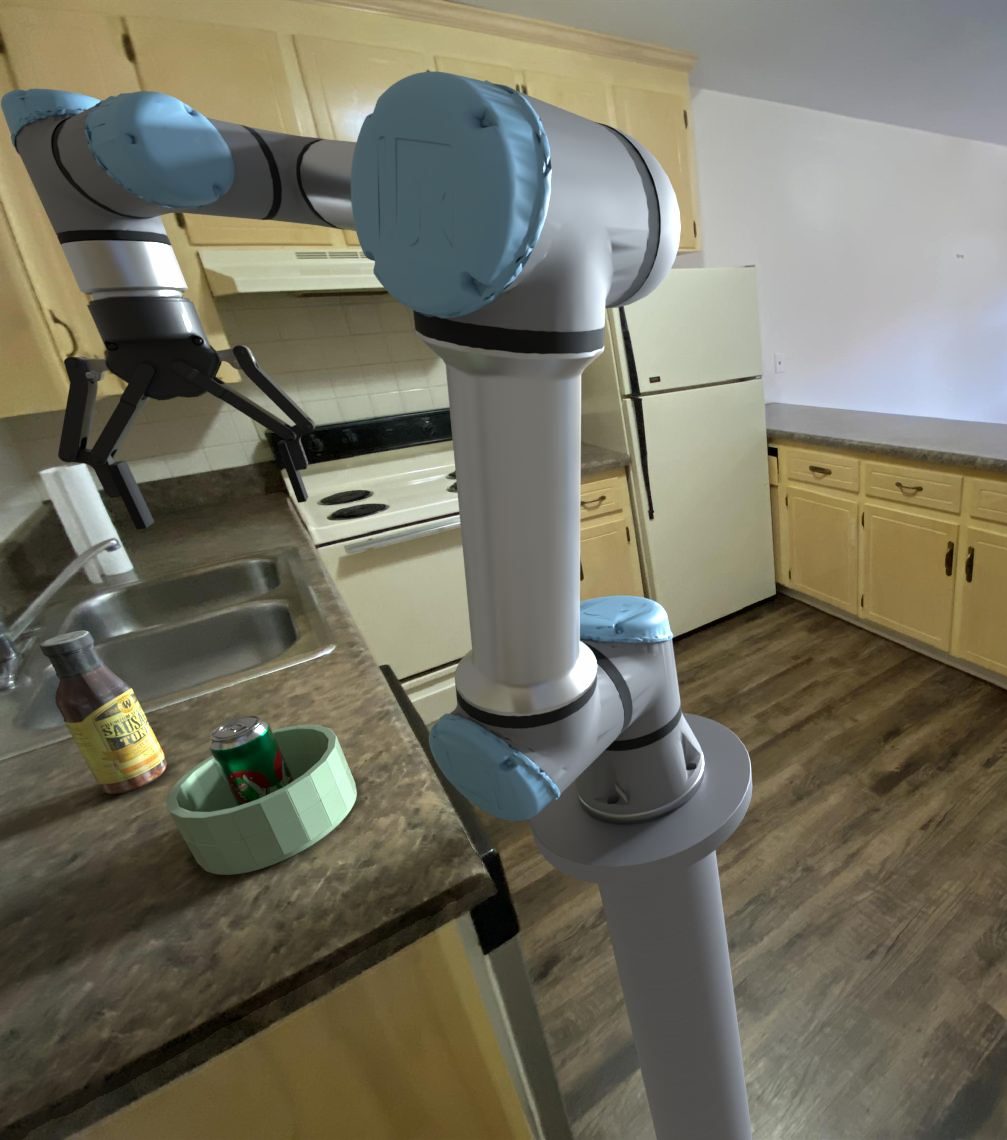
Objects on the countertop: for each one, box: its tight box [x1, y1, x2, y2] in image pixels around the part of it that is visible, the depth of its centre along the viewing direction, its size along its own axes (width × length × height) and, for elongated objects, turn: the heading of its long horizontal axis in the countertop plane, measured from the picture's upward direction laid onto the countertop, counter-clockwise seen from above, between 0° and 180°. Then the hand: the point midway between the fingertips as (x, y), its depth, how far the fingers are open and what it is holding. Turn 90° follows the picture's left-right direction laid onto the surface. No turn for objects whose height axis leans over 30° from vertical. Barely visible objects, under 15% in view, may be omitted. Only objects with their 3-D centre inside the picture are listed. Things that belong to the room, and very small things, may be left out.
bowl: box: [165, 724, 358, 876], centre depth 68 cm, size 15×15×8 cm
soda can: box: [208, 714, 294, 806], centre depth 67 cm, size 5×5×12 cm
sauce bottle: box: [39, 630, 168, 795], centre depth 74 cm, size 6×6×20 cm
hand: (228, 512), depth 67 cm, fingers open, 13 cm apart
